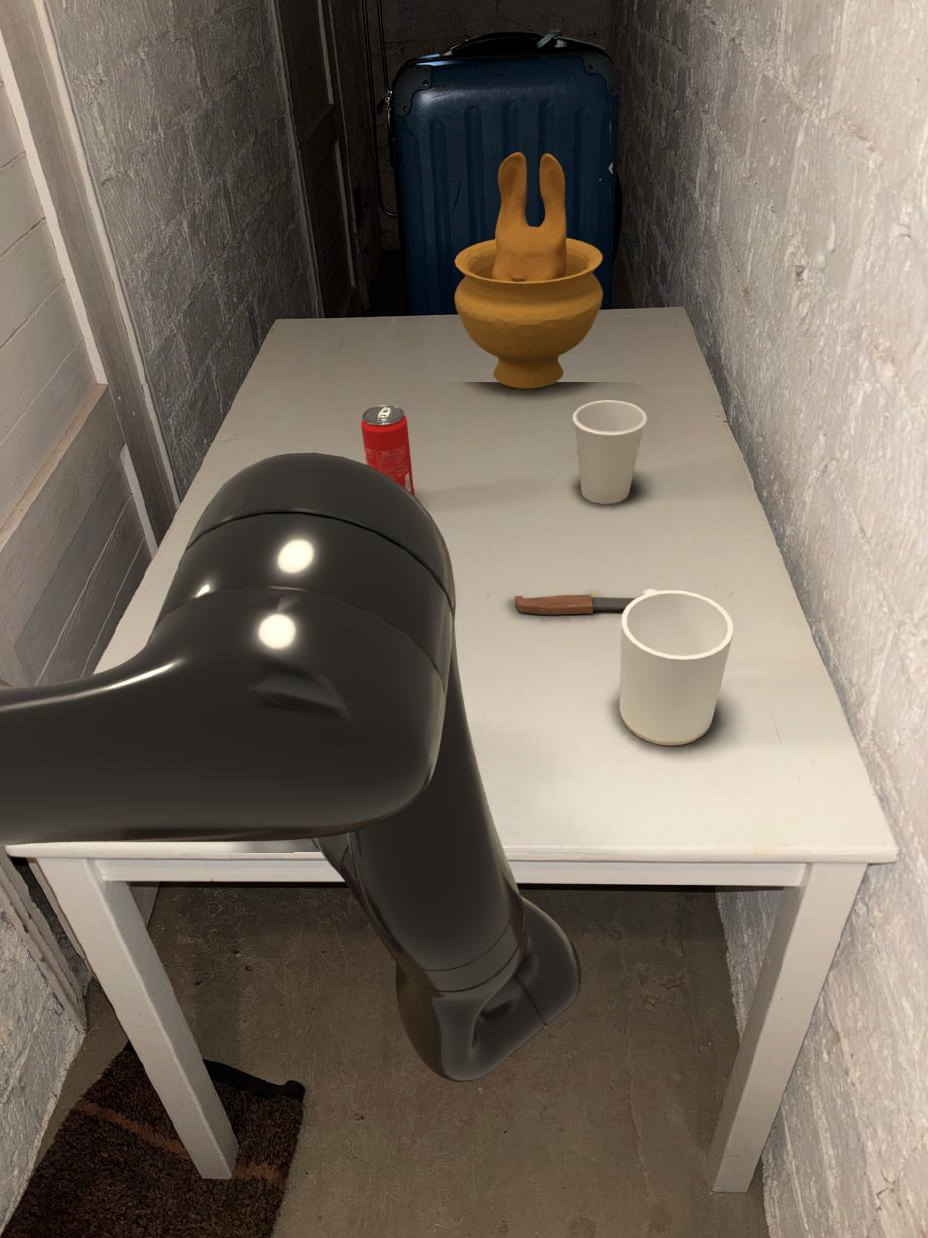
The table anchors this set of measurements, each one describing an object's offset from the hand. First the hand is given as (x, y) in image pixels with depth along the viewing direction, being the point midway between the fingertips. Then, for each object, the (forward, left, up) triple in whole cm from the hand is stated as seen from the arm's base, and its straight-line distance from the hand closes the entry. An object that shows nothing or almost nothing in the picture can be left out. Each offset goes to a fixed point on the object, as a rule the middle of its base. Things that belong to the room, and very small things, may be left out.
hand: (259, 670), depth 75 cm
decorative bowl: (+53, +58, -9) cm, 80 cm away
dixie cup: (+46, +23, -9) cm, 53 cm away
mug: (+32, -11, -9) cm, 35 cm away
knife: (+34, +4, -9) cm, 36 cm away
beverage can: (+22, +32, -9) cm, 40 cm away
